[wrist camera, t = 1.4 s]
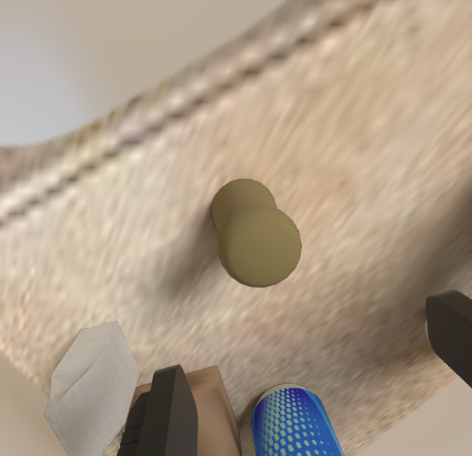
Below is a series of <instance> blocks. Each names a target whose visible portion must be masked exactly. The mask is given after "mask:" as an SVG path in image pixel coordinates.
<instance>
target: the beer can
mask: <svg viewBox="0 0 472 456" xmlns="http://www.w3.org/2000/svg"><path fill="white" fill-rule="evenodd" d="M251 424H252V431H253V438H254V445H255V452H256V456H344V454H343V451H342V449H341V447H340V444H339V442H338V439H337V437H336V435H335V432H334V430H333V428H332V425H331V423H330V420H329V418H328V416H327V413H326V411H325V409H324V406H323V404H322V402H321V400H320V399H319V397H318V396H317V395H315V394H314V393H313V392H311V391H309V390H307V389H306V388H304V387H302V386H300V385H297V384H281V385H277V386H275V387H272V388H270V389H269V390H267V391H266V392H265V393H264V394H263V395H262V396H261V397H260V399H259V400H258V403H257V405H256V406H255V408H254V410H253V412H252V417H251Z"/></svg>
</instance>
